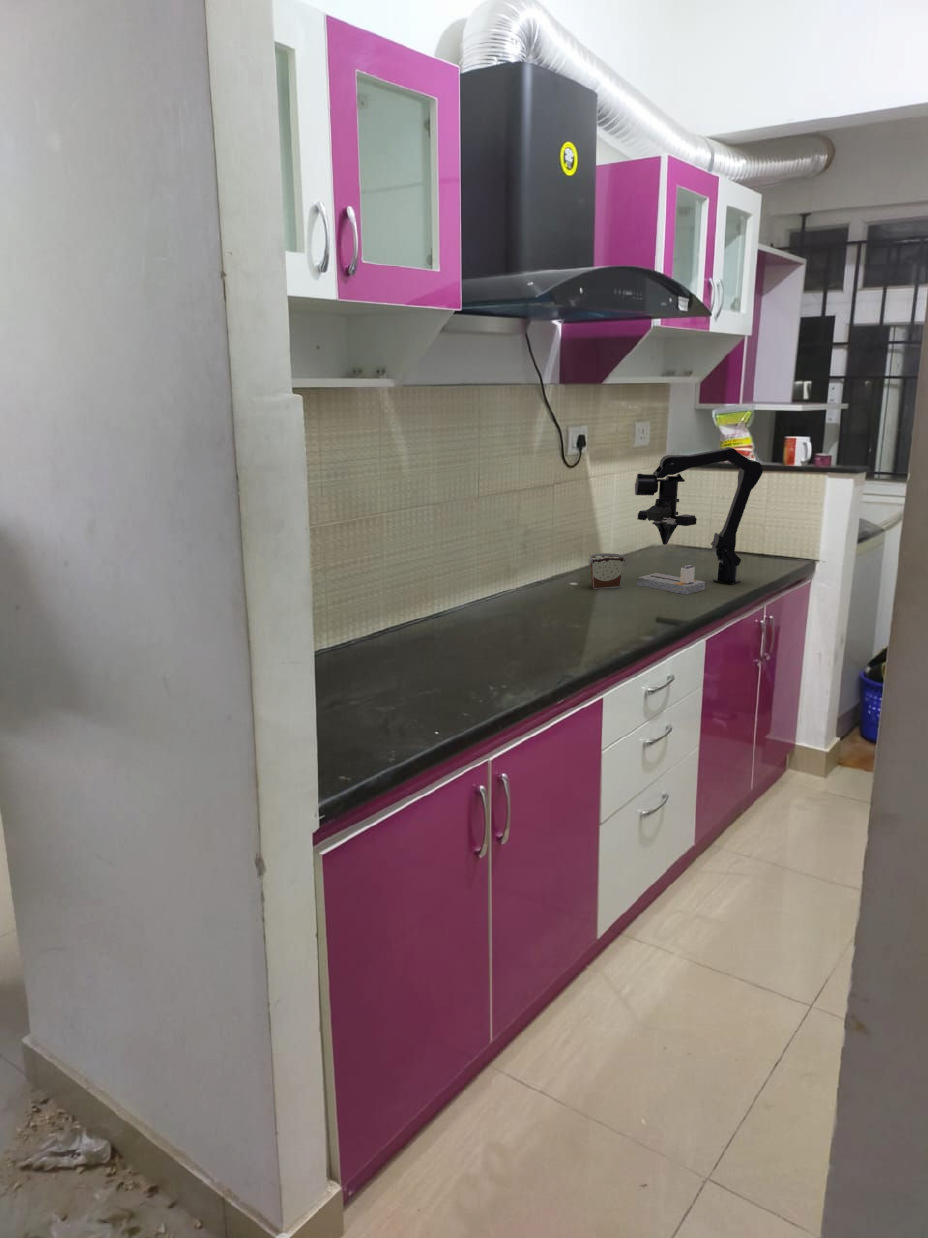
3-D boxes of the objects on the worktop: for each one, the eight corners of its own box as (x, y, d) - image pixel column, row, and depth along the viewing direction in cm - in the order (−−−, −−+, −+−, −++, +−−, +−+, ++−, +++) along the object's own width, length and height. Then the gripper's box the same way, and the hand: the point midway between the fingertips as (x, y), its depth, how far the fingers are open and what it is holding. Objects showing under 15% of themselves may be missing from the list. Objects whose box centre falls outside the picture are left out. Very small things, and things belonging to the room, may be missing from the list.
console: (655, 580, 298) (656, 572, 297) (704, 589, 285) (705, 581, 285) (637, 585, 291) (638, 577, 290) (686, 594, 279) (687, 586, 278)
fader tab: (687, 580, 286) (688, 564, 285) (693, 581, 284) (695, 565, 283) (680, 582, 283) (681, 566, 282) (686, 583, 281) (687, 567, 280)
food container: (615, 582, 295) (616, 551, 292) (624, 586, 289) (626, 555, 286) (580, 585, 291) (581, 554, 288) (589, 589, 285) (590, 557, 283)
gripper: (628, 495, 291) (625, 543, 295) (679, 500, 278) (675, 551, 282) (648, 492, 299) (646, 539, 303) (699, 497, 286) (695, 547, 290)
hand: (664, 544), depth 294 cm, fingers closed
